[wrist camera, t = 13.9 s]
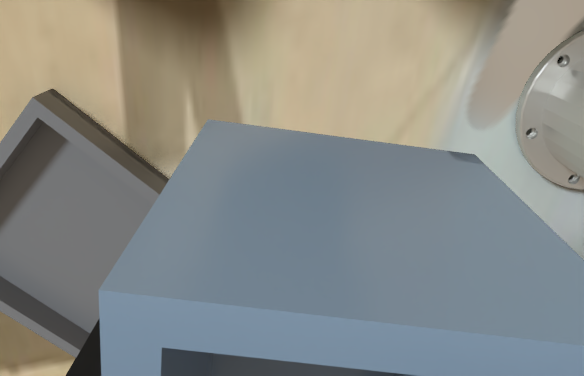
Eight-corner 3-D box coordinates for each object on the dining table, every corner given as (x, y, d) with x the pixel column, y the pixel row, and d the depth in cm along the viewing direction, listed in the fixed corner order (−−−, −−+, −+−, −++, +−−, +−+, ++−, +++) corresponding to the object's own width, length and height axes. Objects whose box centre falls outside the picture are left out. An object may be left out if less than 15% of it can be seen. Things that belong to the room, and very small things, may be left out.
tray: (244, 238, 41) (240, 256, 38) (124, 357, 46) (113, 381, 44) (52, 88, 36) (32, 97, 33) (-58, 241, 41) (-83, 259, 39)
